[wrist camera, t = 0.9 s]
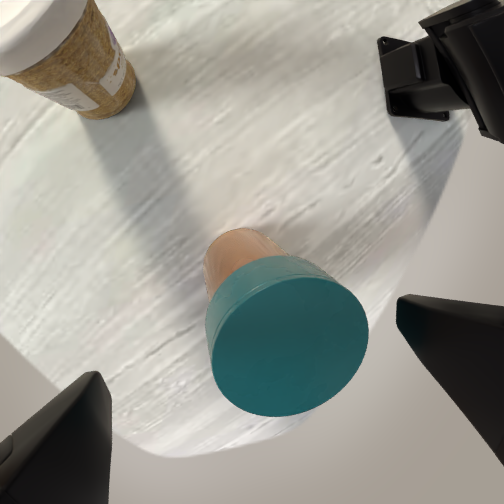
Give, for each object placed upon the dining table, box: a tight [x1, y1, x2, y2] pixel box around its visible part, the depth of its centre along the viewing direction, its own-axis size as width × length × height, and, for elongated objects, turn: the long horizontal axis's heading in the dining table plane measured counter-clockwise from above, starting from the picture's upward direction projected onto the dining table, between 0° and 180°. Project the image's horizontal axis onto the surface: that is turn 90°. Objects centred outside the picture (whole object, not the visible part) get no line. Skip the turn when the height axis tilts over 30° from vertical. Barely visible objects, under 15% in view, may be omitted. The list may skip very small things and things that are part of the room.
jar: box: [203, 228, 290, 303], centre depth 17 cm, size 5×5×11 cm
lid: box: [205, 255, 369, 417], centre depth 13 cm, size 6×6×3 cm
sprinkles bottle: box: [0, 0, 136, 120], centre depth 11 cm, size 5×5×13 cm
